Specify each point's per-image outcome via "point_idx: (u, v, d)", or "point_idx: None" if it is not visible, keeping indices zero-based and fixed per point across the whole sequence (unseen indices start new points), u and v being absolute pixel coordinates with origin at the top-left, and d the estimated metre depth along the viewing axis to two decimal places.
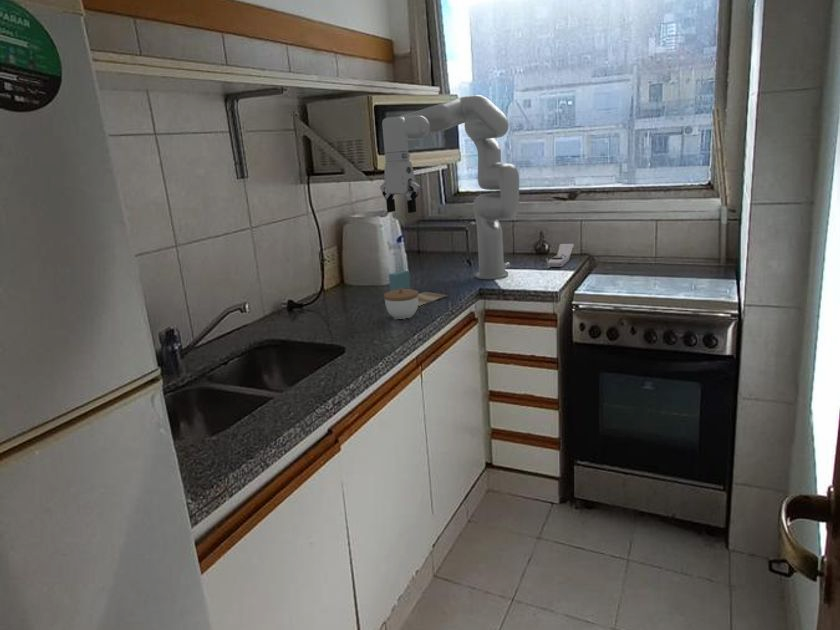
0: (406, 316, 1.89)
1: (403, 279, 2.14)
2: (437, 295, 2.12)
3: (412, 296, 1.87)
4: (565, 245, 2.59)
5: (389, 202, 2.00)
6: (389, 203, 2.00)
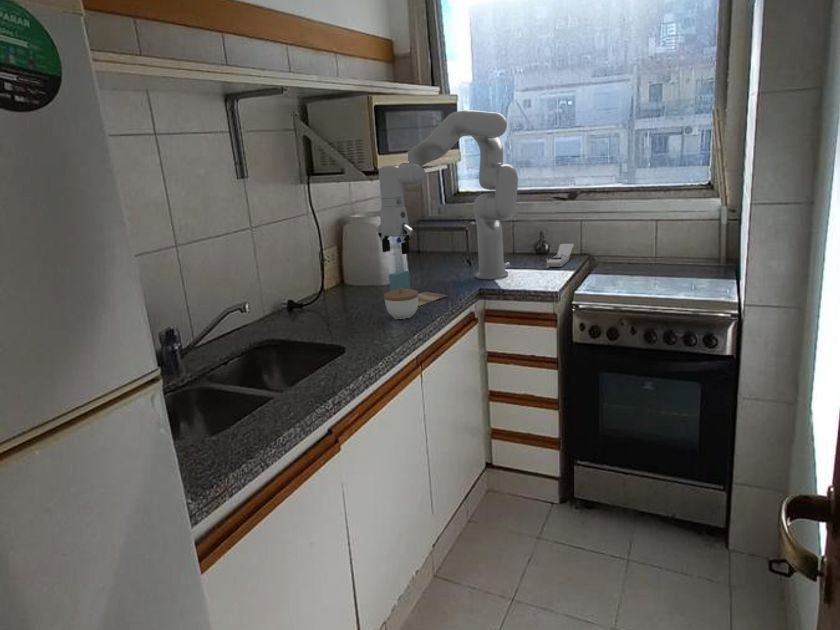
0: (406, 316, 1.89)
1: (403, 279, 2.14)
2: (437, 295, 2.12)
3: (412, 296, 1.87)
4: (565, 245, 2.59)
5: (384, 243, 2.14)
6: (384, 244, 2.14)
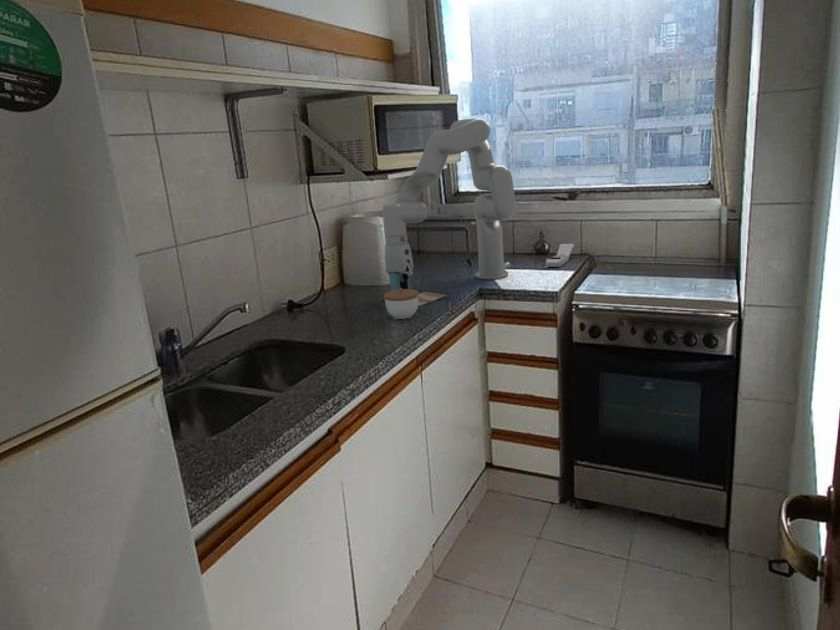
0: (406, 316, 1.89)
1: None
2: (437, 295, 2.12)
3: (412, 296, 1.87)
4: (565, 245, 2.60)
5: None
6: None
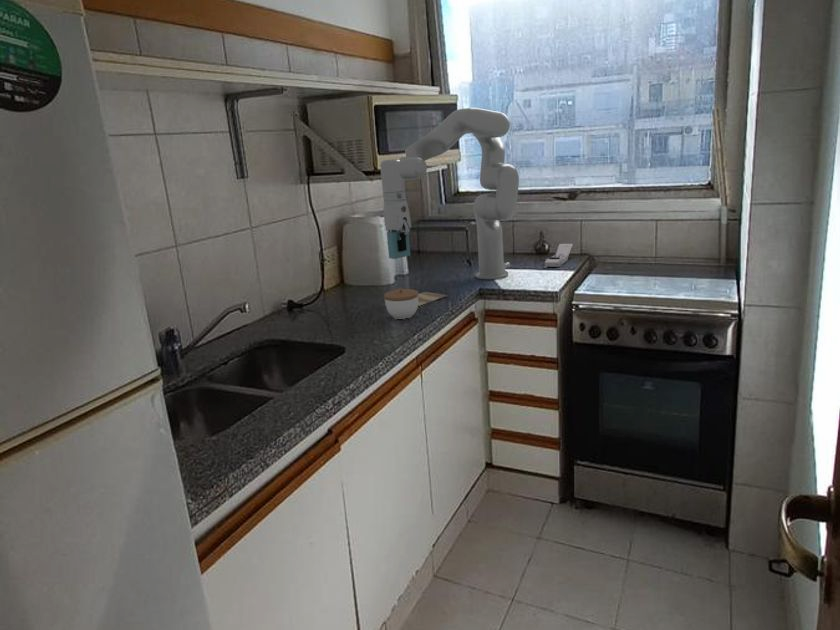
0: (406, 316, 1.89)
1: None
2: (437, 295, 2.12)
3: (412, 296, 1.87)
4: (564, 245, 2.60)
5: None
6: None
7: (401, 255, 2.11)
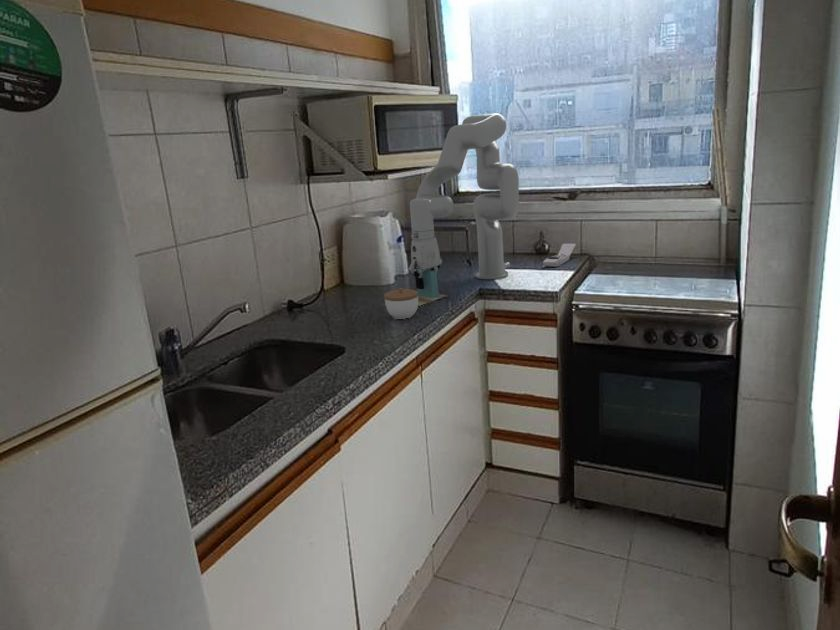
0: (406, 316, 1.89)
1: (425, 278, 2.10)
2: None
3: (412, 296, 1.87)
4: (567, 245, 2.59)
5: None
6: None
7: (424, 295, 2.12)
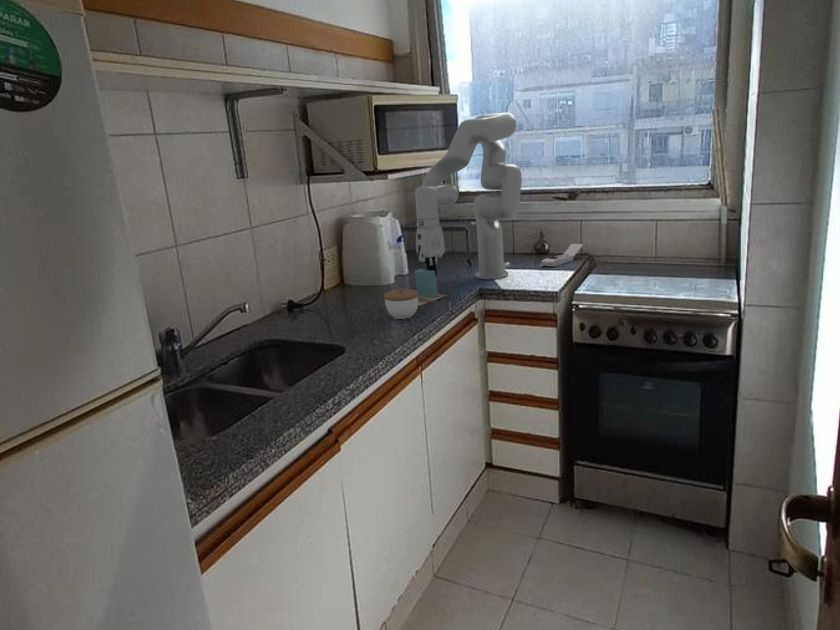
0: (406, 316, 1.89)
1: (423, 279, 2.09)
2: None
3: (412, 296, 1.87)
4: (575, 245, 2.58)
5: None
6: None
7: (424, 295, 2.12)
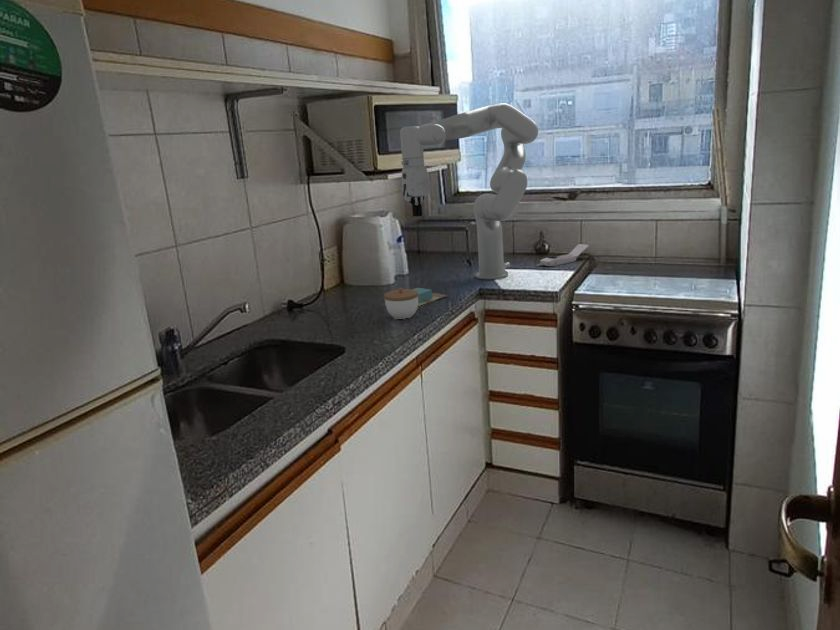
0: (406, 316, 1.89)
1: None
2: (437, 295, 2.12)
3: (412, 296, 1.87)
4: (581, 245, 2.56)
5: None
6: None
7: None
